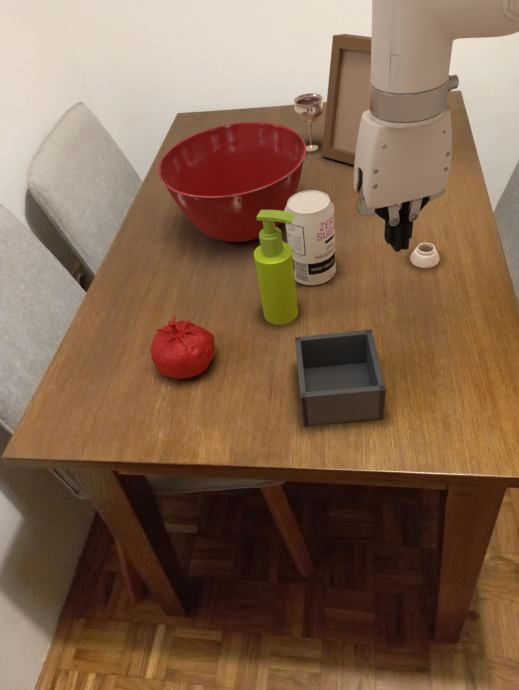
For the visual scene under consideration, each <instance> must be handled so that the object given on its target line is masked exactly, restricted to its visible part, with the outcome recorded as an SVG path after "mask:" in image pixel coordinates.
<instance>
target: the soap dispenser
mask: <svg viewBox="0 0 519 690" xmlns="http://www.w3.org/2000/svg"><path fill="white" fill-rule="evenodd" d="M295 216H296V215H295V214H292V213H289V212H285V211H279V210H261V211H260V212H259V214H258V215H257V217H256V218H257V220H260V221H263V228H264V229H262V230H261V231H260V232H259V238H258V239H259V245H257V247H256V248H255V249H254V251H253V259H254V265H255V271H256V277H257V283H258V288H259V295H260V301H261V307H262V313H263V318H264V319H265V320H266V322H267V323H269V324H271V325H275V326H283V325H287V324H290V323H291V322H294V320H296V318H297V317H298V315H299V308H298V297H297V296H298V295H297V288H296V281H295V277H294V267H293V257H292V249H291V247H290V246H289V245H288V242H285V241H283V233H282V230H281V228H279V227H278V226H277V227H275V223H274V221H277V222H281V223H284V224H285V223H287V224H291V223H292V221H293V220H294V218H295Z"/></svg>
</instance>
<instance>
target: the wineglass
mask: <svg viewBox="0 0 519 690" xmlns="http://www.w3.org/2000/svg"><path fill="white" fill-rule="evenodd" d="M323 99H324V98H323V95H322V94H320V93H319V94H318V93H314V92H309V93H308V92H307V93H303V94H300V95H298V96H296V97H295V98H294V99H293V103H294V107H293V112H294V115H295V117H296V119H297V120H299V121H301V123H304V124H306V125H307V128H308V136H309V137H308V138H309V144H308V145H306V152H315V151H316V150H318V149H319V146H318V145H317V144H313V142H312V140H313V139H312V137H313V135H312V134H313V133H312V125H313V123H314V122H316V121H318V120H319V118H321V116H322V115H323V113H324V103H323V102H322V101H323Z"/></svg>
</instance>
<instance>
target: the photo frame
mask: <svg viewBox="0 0 519 690" xmlns="http://www.w3.org/2000/svg"><path fill="white" fill-rule="evenodd" d="M371 37H372V36H366V35H356V34H348V33H341V34H333V35H332V42H331V52H330V62H329V63H330V64H329V74H328V83H327V95H326V104H325V105H326V106H325V114H324V115H325V116H324V127H323V137H322V138H323V139H322V146H321V147H322V149H321V157H324V158H328V159H331V160H335V161H339V162H342V163H346V164H349V165H352V166H354V163H355V152H356V144H357V137H358V132H359V127H360V122H361V118H362V114H363V113H364V112H365V111H368V110H370V86H371Z"/></svg>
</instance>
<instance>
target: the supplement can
mask: <svg viewBox="0 0 519 690" xmlns="http://www.w3.org/2000/svg"><path fill="white" fill-rule="evenodd" d="M284 211H285V212H289V213H292V214H295V215H296V216H295V218H294V220H293V221H292V223H291V224H287V223H284V224H285V231H286V243H287V244H288V245H289V246H290V247H291V249H292V257H293V267H294V277H295V282H296V283H298V284H302V285H305V286H318V285H322V284H325V283H327V282H329V281H330V280H332V278H334V277H335V275H336V273H337V260H336V259H337V257H336V227H335V226H336V225H335V224H336V222H335V220H336V219H335V205H334V203H333V202H332V201H331V198H330V196H329V195H328V194H327V193H325V192H323V191H321V190H315V189H308V190H302V191H299V192H296V194H294V195H293V196H291V197H290V198H289V200H288V201H287V205H286V208H285V210H284Z"/></svg>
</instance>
